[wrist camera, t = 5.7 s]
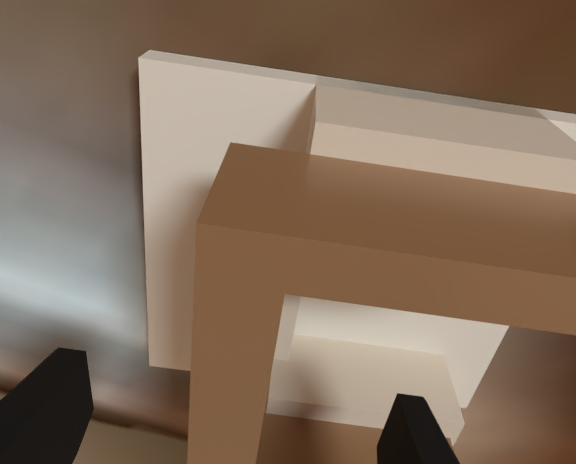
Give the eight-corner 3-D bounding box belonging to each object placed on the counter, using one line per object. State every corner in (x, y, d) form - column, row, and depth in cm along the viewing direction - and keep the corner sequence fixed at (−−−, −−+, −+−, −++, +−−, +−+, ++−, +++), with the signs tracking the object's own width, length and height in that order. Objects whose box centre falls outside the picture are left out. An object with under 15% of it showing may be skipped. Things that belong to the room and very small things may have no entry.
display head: (594, 117, 14) (683, 176, 10) (459, 388, 20) (488, 479, 17) (149, 50, 13) (93, 88, 10) (156, 347, 20) (122, 432, 16)
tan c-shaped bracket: (579, 194, 11) (677, 292, 8) (439, 458, 16) (465, 575, 13) (230, 141, 11) (196, 222, 8) (208, 428, 16) (184, 539, 13)
